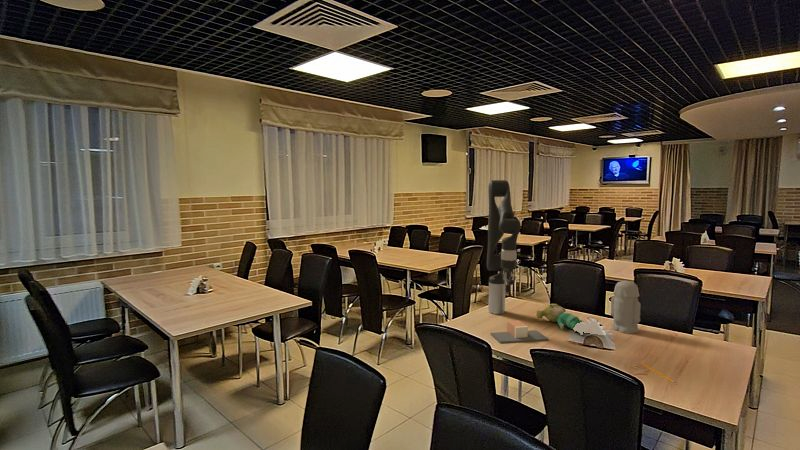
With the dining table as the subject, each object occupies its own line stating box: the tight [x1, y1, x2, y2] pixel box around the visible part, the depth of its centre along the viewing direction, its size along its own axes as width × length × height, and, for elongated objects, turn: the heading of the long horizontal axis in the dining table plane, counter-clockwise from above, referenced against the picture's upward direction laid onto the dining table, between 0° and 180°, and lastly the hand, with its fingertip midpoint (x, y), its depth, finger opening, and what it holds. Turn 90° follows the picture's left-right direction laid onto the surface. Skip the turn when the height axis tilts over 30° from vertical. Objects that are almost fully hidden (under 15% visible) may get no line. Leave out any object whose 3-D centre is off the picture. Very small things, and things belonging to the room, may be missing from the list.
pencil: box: [640, 362, 677, 384], centre depth 165 cm, size 1×19×1 cm, turn 8°
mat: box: [490, 329, 549, 344], centre depth 204 cm, size 12×24×1 cm, turn 99°
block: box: [506, 319, 529, 338], centre depth 206 cm, size 5×6×10 cm
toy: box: [536, 303, 584, 331], centre depth 220 cm, size 17×10×30 cm
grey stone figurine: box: [610, 280, 642, 335], centre depth 213 cm, size 15×10×25 cm
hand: (507, 291), depth 216 cm, fingers closed
